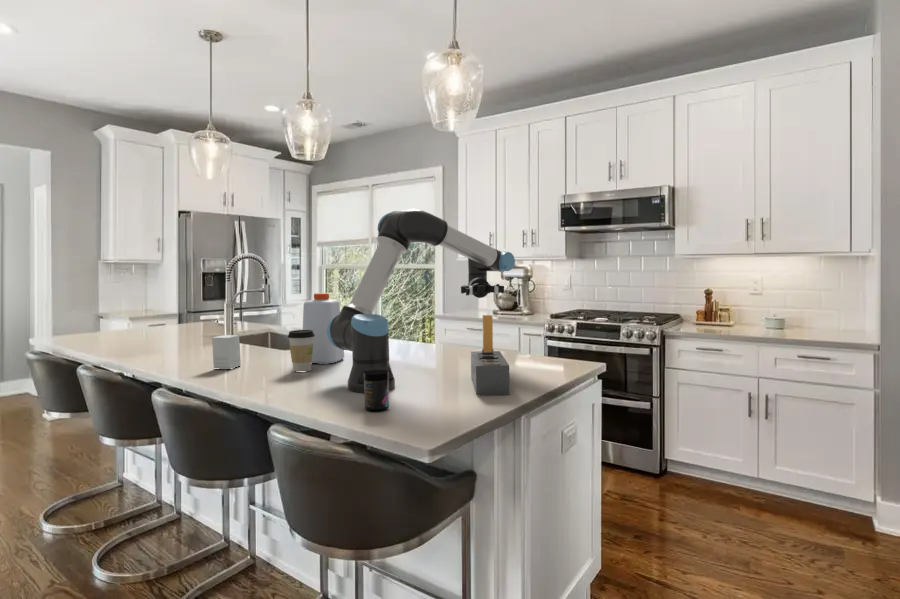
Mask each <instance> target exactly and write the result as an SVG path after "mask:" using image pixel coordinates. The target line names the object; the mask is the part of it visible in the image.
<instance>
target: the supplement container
mask: <svg viewBox="0 0 900 599" xmlns="http://www.w3.org/2000/svg"><path fill="white" fill-rule="evenodd" d="M388 378H389V377H388V371H387V370H369V371H365V372H364V392H363V393H364V395H363V396H364V409H365V411H367V412H370V413H381V412H385V411H387V410H388V409H389V406H390V395H389V393H390V392H389V391H390V390H389V386H388Z"/></svg>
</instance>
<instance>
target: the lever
mask: <svg viewBox="0 0 900 599" xmlns="http://www.w3.org/2000/svg"><path fill="white" fill-rule="evenodd" d="M493 325H494V324H493V315H492V314H489V315H487V314H484V315H483V314H482V350H481V351H482V355H493V354H494V351H495V350H494V348H493V347H494V346H493V345H494V341H493V335H494V334H493Z"/></svg>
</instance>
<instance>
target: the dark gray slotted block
mask: <svg viewBox="0 0 900 599" xmlns="http://www.w3.org/2000/svg"><path fill="white" fill-rule="evenodd" d="M470 378H471V381H472V385H473V388H474V392H476V393H475V395H480V396H509V395H510V364H509V363H508V361H507V360H506V358H505V357H504V356H503V354H502V352H501V351H500V350H494V354H493V355H482V350H478V351H470Z"/></svg>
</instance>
